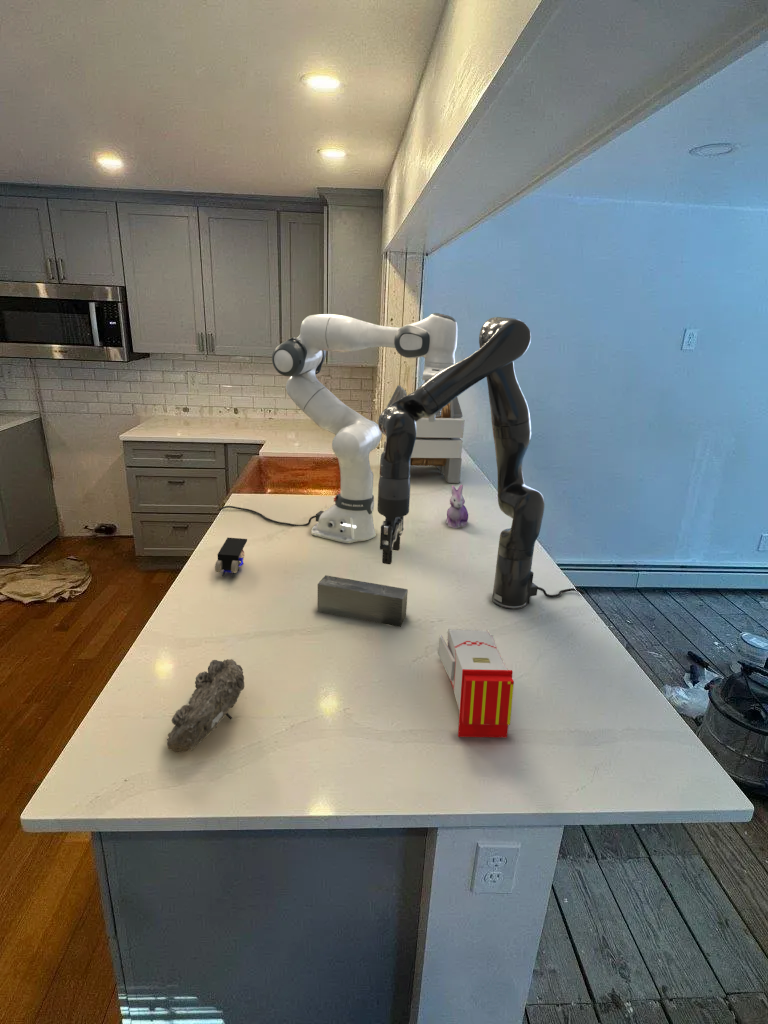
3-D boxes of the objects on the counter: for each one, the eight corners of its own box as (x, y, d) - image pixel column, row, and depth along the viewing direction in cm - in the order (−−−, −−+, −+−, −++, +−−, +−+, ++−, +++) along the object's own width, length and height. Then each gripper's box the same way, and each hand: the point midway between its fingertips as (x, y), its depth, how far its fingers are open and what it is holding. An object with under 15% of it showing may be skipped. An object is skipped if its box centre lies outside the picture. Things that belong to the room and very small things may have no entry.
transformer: (382, 463, 289) (386, 382, 275) (445, 464, 293) (451, 384, 279) (390, 482, 257) (394, 392, 243) (460, 483, 261) (468, 394, 247)
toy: (488, 613, 130) (523, 677, 101) (484, 667, 133) (517, 744, 104) (435, 612, 130) (455, 676, 101) (432, 666, 133) (451, 743, 103)
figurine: (453, 530, 205) (457, 490, 200) (438, 521, 213) (441, 482, 208) (475, 527, 209) (479, 488, 204) (459, 517, 217) (462, 480, 212)
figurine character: (238, 584, 162) (249, 557, 175) (236, 562, 158) (247, 536, 172) (215, 584, 161) (227, 556, 175) (212, 561, 158) (225, 535, 171)
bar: (317, 611, 147) (317, 584, 144) (325, 601, 152) (325, 575, 149) (400, 627, 141) (402, 599, 139) (406, 616, 146) (407, 589, 144)
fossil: (192, 660, 117) (244, 628, 112) (224, 691, 120) (276, 661, 115) (142, 746, 98) (202, 712, 93) (182, 779, 101) (242, 748, 96)
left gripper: (434, 368, 177) (430, 412, 181) (421, 374, 158) (417, 423, 163) (454, 370, 175) (450, 414, 180) (443, 376, 157) (439, 426, 161)
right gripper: (403, 505, 126) (399, 570, 132) (415, 486, 139) (412, 547, 145) (370, 501, 128) (368, 566, 133) (385, 483, 141) (383, 543, 146)
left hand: (434, 419), depth 171 cm, fingers open, 8 cm apart
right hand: (391, 556), depth 139 cm, fingers open, 8 cm apart
